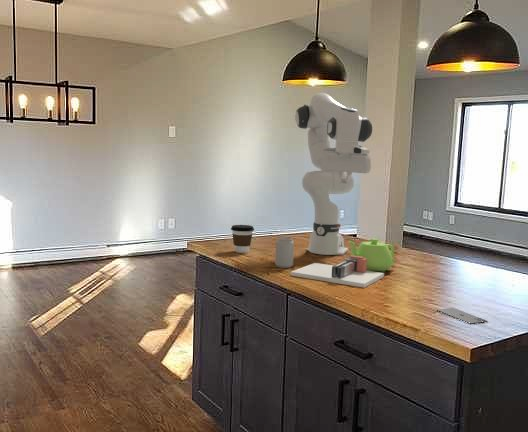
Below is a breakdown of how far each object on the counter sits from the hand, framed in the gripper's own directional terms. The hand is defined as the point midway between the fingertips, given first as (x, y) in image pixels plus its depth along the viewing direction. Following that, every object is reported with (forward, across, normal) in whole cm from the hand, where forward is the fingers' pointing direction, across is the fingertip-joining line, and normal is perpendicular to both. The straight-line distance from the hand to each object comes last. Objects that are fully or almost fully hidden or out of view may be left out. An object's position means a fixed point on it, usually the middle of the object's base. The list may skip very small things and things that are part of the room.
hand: (344, 183), depth 228 cm
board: (+36, +4, -11) cm, 38 cm away
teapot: (+36, +11, +8) cm, 38 cm away
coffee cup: (+37, -52, +7) cm, 64 cm away
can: (+36, -21, -9) cm, 43 cm away
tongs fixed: (+34, +7, -12) cm, 37 cm away
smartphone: (+35, +56, -38) cm, 76 cm away
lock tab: (+34, +10, -4) cm, 36 cm away
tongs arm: (+34, +6, -14) cm, 37 cm away
